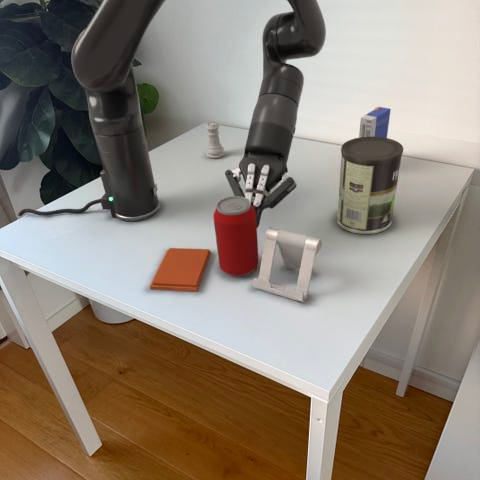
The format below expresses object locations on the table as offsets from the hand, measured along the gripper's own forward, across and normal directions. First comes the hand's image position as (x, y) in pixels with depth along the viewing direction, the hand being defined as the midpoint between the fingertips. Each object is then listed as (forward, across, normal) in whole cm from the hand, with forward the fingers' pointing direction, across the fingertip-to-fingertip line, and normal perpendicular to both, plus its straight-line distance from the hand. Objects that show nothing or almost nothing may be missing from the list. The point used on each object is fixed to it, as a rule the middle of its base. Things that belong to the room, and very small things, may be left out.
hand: (248, 229), depth 81 cm
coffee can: (-8, +16, +16) cm, 24 cm away
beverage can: (+7, 0, +1) cm, 7 cm away
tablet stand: (+8, +9, 0) cm, 12 cm away
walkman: (-25, +12, +33) cm, 43 cm away
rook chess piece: (-23, -25, +31) cm, 46 cm away
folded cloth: (+9, -10, -2) cm, 13 cm away
